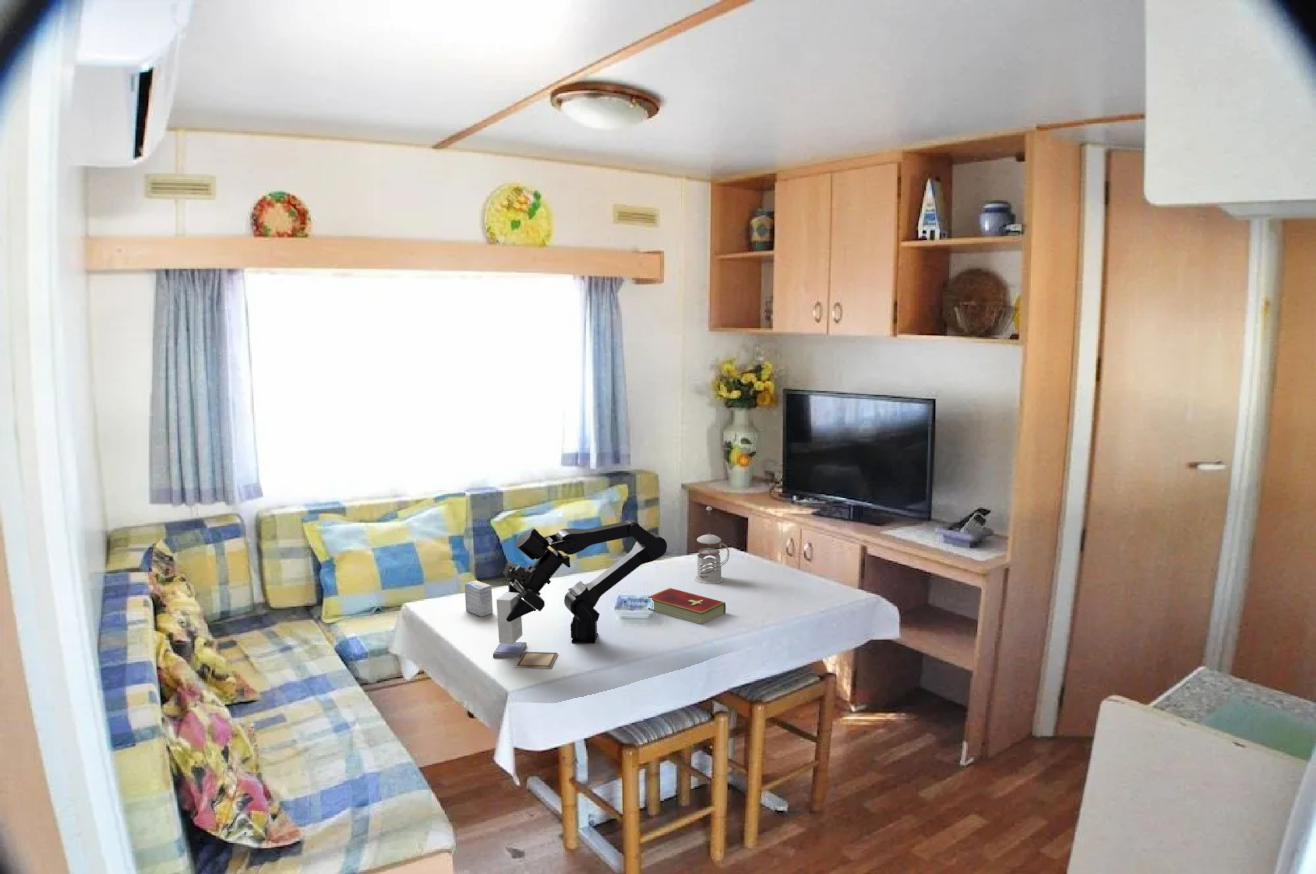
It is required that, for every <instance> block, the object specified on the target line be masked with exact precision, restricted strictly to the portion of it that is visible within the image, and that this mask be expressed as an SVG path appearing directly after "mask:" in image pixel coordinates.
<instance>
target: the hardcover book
mask: <svg viewBox="0 0 1316 874" xmlns="http://www.w3.org/2000/svg"><path fill="white" fill-rule="evenodd" d="M647 597H648V598H652V600H653V601H654V610H655V611H654V610H653V611H654V612H658V613H661V614H665V615H668V616H672V617H676V618H677V619H678V618H679V619H682V620H686V621H689V622H692V623H696V624H700V625H702V624H704V623H707V622H709V621H711V620H713V619H715V618H717V617H719V616H721V615H723V614H724V615H725V614H726V610H727V609H726V608H727V607H726V606H727V605H726V602H725V601H721V600H718V599H713V598H710V597H707V596H702V595H698V594H695V593H691V592H689V591H688V592H687V591H684V590H683V591H682V590H679V589H677V588H676V589H675V588H671V587H668V588H666V589H664V590H661V591H659V592H656V593H654V594H650V595H648V596H646V597H645V599H646V598H647Z"/></svg>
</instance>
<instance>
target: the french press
mask: <svg viewBox="0 0 1316 874" xmlns="http://www.w3.org/2000/svg"><path fill="white" fill-rule="evenodd" d="M712 510H713V507H712V506H707V507H706V511H708V514H710V511H712ZM696 542H698V543H699V544H705V545H715V544H719V548H722V546H724V547H725V548H726V551H727V554H726V558H725V560H723V561H722V562H721V553H720V552H721V551H720V550H719V549H717V548H700V549H698V552H697V553H698V554H697V566H696V567H697V569H696V570H697V571H696V572H697V573H696V574H697V575H696V576H695V577H694V582H697V583H698V584H703V585H714V584H719V583H722V582H724V578H723V577H722V566H723V565H725V564H727V562H728V561H729V558H730V550H729V547H728V546H727V545H726V544H725V543H724V542H722V538H721V537H719V536H718V535H715V534H710V533H708V534H703V535H700V536H698V537H697V539H696ZM709 556H711V557H709Z"/></svg>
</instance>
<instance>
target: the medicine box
mask: <svg viewBox="0 0 1316 874" xmlns="http://www.w3.org/2000/svg"><path fill="white" fill-rule="evenodd" d="M492 591H493V590H492V585H491V584H487V583H485V582H481V581H479V580H473V581H469V582H466V583H464V596H465V600H464V601H465V611H466V612H467V613H471V614H473V615H476V616H479V617H485V616H488V615H492V614H493V613H494V609H493V595H492V594H493V592H492ZM491 613H492V614H491Z"/></svg>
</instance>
